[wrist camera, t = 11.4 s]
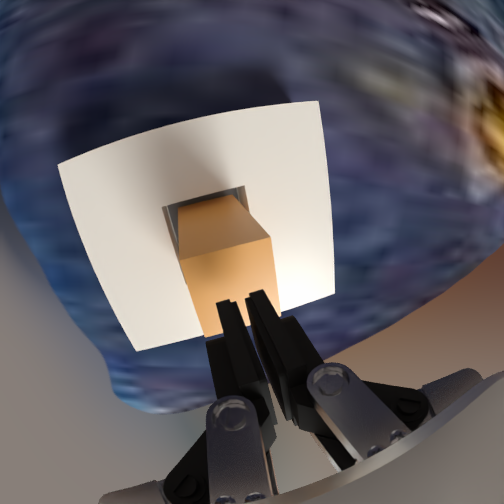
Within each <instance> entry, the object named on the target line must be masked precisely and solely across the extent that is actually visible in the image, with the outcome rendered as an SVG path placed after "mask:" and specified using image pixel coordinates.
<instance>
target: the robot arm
mask: <svg viewBox="0 0 504 504" xmlns="http://www.w3.org/2000/svg"><path fill="white" fill-rule="evenodd" d="M245 303H246V308H247V312H248V316H249V320H250V324H251V328H252V332H253V336H254V340H255V344H256V348H257V352H258V354H259V357H260V359H261V362H262V364H263V367H264V369H265V372H266V374H267V376H268V379H269V381H270V384H271V386H272V388H273V391H274V393H275V395H276V398H277V400H278V402H279V405H280V407H281V409H282V412H283V414H284V416H285V419H286V420H287V421H288V420H291V419H292V421H293V423H294V425H295V426H296V425H298V426H299V429H301V430H304V431H308V432H310V434H311V436H312V437H313V439H314V440H315V442H316V443H317V444H318V446H319V447H320V449H321V450H322V451H323V453H324V454H325V455H326V457H327V458H328V459H329V461H330V462H331V464H332V465H333V466H334V468H335V469H336V470H337V471H338V473H336V474H334V475H332V476H330V477H327V478H325V479H322V480H320V481H317V482H315V483H312V484H309V485H307V486H304V487H301V488H298V489H295V490H292V491H289V492H286V493H283V494H279V491H278V485H277V480H276V475H275V471H274V465H273V460H272V456H271V450H270V447H271V446H272V444H273V442H274V441H275V439H276V437H277V436H276V433H275V429H274V426H273V425H276V424H277V419H276V416H275V411H274V407H273V403H272V399H271V395H270V391H269V387H268V383H267V379H266V376H265V373H264V371H263V368H262V366H261V363H260V361H259V358H258V356H257V353H256V351H255V348H254V346H253V343H252V341H251V338H250V336H249V333H248V331H247V328H246V325H245V323H244V320H243V318H242V315H241V312H240V310H239V307H238V305H237V302H236V301H234V302H230V299H227V300H223V301H220V302H216V307H217V311H218V314H219V318H220V322H221V326H222V329H223V333H224V337H221V338H217V339H214V340H210V341H206V348H207V353H208V358H209V363H210V368H211V373H212V377H213V382H214V387H215V391H216V396H217V401H215V402H214V403H213V404H212V405H211V406H210V407H209V409H208V411H207V414H206V430H205V431H204V433H203V434H202V435H201V436H200V438H199V439H198V440H197V441H196V442H195V444H194V445H193V446H192V447H191V448H190V450H189V451H188V452H187V453H186V454H185V456H184V457H183V458H182V459H181V460H180V462H179V463H178V464H177V465H176V466H175V467H174V468H173V470H172V471H171V472H170V473H169V474H168V476H167V477H166V479H163V480H160V481H156V480H153V481H150V482H147V483H144V484H140V485H137V486H133V487H130V488H126V489H122V490H118V491H113V492H109V493H107V494H104V495H103V496H102V497H101V498H100V500H99V503H98V504H504V371H501V372H498V373H495V374H493V375H491V376H489V377H487V378H486V379H484V380H483V378H482V376H481V375H480V374H479V373H478V372H477V371H476V370H474V369H470V368H466V369H462V370H460V371H457V372H455V373H453V374H451V375H448V376H446V377H443V378H441V379H438V380H436V381H433V382H431V383H428V384H425V385H423V386H422V388H421V389H418V390H415V389H412V388H404V387H398V386H391V385H385V384H379V383H373V382H368V381H363V380H360V379H359V377H357V375H356V374H355V373H354V372H353V371H352V370H351V369H349V368H348V367H347V366H345V365H343V364H340V363H332V362H331V363H324V362H323V360H322V358H321V357H320V355H319V354H318V352H317V351H316V349H315V348H314V346H313V344H312V343H311V341H310V340H309V338H308V337H307V335H306V334H305V332H304V330H303V329H302V327H301V326H300V324H299V323H298V321H297V320H296V318H295V317H294V316H293V315H292V316H289V317H286V318H283V319H280V318H279V316H278V314H277V312H276V311H275V309H274V307H273V305H272V304H271V302H270V300H269V298H268V296H267V295H266V293H265V291H264V290H263V289H261V290H258V291H254V292H251V293H249V297H248V298H245Z"/></svg>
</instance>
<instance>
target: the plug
mask: <svg viewBox="0 0 504 504" xmlns="http://www.w3.org/2000/svg"><path fill="white" fill-rule="evenodd" d="M178 238H179V261H180V264H181V268H182V271H183V274H184V277H185V280H186V283H187V286H188V290H189V293H190V296H191V299H192V302H193V305H194V308H195V311H196V313H197V316H198V319H199V322H200V325H201V328H202V330H203V333H204V336H205V337H209V336H213V335H217V334H220V333H223V329H222V326H221V322H220V318H219V314H218V311H217V307H216V302H220V301H223V300H227V299H230V302H234V301H236V302H237V305H238V307H239V310H240V312H241V315H242V318H243V320H244V323H245V325H246V326H249V325H251V324H250V320H249V316H248V312H247V308H246V303H245V298H248V297H249V293H251V292H254V291H258V290H261V289H263V290H264V291H265V293H266V295H267V296H268V298H269V300H270V302H271V304H272V305H273V307H274V309H275V311H276V312H277V314H278V316H281V309H280V301H279V294H278V286H277V278H276V271H275V263H274V256H273V249H272V241H271V237H270V235H269V234H268V233H267V232H266V231H265V230H264V229H263V228H262V227H261V225H260V224H259V223H258V222H257V221H256V220H255V219H254V218H253V217H252V215H251V214H250V213H249V212H248V211H247V210H246V209H245V208H244V207H243V206H242V204H241V203H240V202H239V201H238V200H237V199H236V198H235V197H234V196H233V195H227V196H223V197H219V198H214V199H210V200H206V201H202V202H198V203H194V204H190V205H186V206H182V207H178Z"/></svg>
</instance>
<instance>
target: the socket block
mask: <svg viewBox="0 0 504 504" xmlns="http://www.w3.org/2000/svg"><path fill="white" fill-rule="evenodd" d="M58 168H59V172H60V176H61V179H62V183H63V186H64V190H65V193H66V196H67V199H68V203H69V206H70V209H71V212H72V215H73V218H74V220H75V223H76V226H77V229H78V231H79V234H80V237H81V239H82V242H83V244H84V247H85V249H86V252H87V254H88V257H89V259H90V261H91V264H92V266H93V268H94V271H95V273H96V275H97V277H98V280H99V282H100V284H101V286H102V288H103V290H104V292H105V294H106V296H107V298H108V301H109V303H110V304H111V306H112V308H113V310H114V312H115V314H116V316H117V318H118V320H119V322H120V324H121V325H122V327H123V329H124V331H125V333H126V334H127V336H128V338H129V340H130V341H131V343H132V345H133V347H134V348H135V350H136V351H140V350H144V349H149V348H153V347H157V346H161V345H166V344H170V343H174V342H178V341H182V340H186V339H190V338H193V337H197V336H201V335H204V333H203V330H202V328H201V325H200V322H199V319H198V316H197V313H196V311H195V308H194V305H193V302H192V299H191V296H190V293H189V290H188V286H187V283H186V280H185V277H184V274H183V271H182V268H181V264H180V261H179V238H178V207H182V206H186V205H190V204H194V203H198V202H202V201H206V200H210V199H214V198H219V197H223V196H227V195H233V196H234V197H235V198H236V199H237V200H238V201H239V202H240V203H241V204H242V206H243V207H244V208H245V209H246V210H247V211H248V212H249V213H250V214H251V215H252V217H253V218H254V219H255V220H256V221H257V222H258V223H259V224H260V225H261V227H262V228H263V229H264V230H265V231H266V232H267V233H268V234H269V235H270V237H271V241H272V249H273V256H274V263H275V271H276V278H277V286H278V294H279V301H280V309H281V312H282V311H285V310H288V309H291V308H294V307H297V306H300V305H303V304H306V303H309V302H312V301H314V300H317V299H320V298H323V297H326V296H328V295H331V294H334V293H335V283H334V250H333V231H332V215H331V202H330V190H329V179H328V170H327V161H326V152H325V144H324V136H323V129H322V122H321V115H320V109H319V103H318V101H309V102H297V103H287V104H277V105H269V106H262V107H255V108H248V109H242V110H236V111H230V112H225V113H220V114H215V115H210V116H205V117H200V118H196V119H192V120H187V121H183V122H179V123H175V124H171V125H168V126H164V127H160V128H157V129H153V130H150V131H147V132H143V133H140V134H137V135H134V136H131V137H127V138H124V139H121V140H119V141H116V142H113V143H110V144H107V145H105V146H102V147H99V148H97V149H94V150H91V151H89V152H86V153H84V154H81V155H79V156H77V157H74V158H72V159H70V160H67V161H65V162H63V163H60V164H58Z"/></svg>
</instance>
